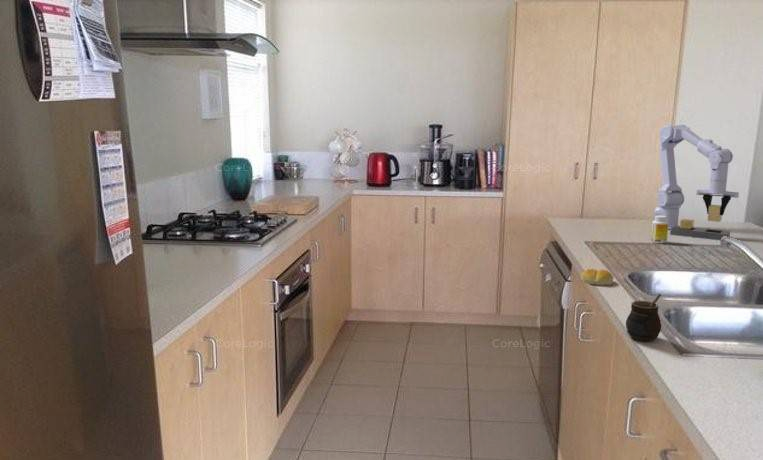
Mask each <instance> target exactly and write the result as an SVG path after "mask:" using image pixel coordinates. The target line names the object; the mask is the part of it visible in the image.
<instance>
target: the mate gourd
mask: <svg viewBox="0 0 763 460" xmlns="http://www.w3.org/2000/svg"><path fill="white" fill-rule="evenodd" d="M661 296H662V294H661V293H658V295H657V296H656V297H655V298H654V300H653V301H647V300H636V301H635V300H634V301H632V302H631V306H630V308H631V309H630V313H629V315H627V318H626V321H625V327H626V333H628V335H629V337H631V338H632V339H633V340H635V341H640V342H652V341H653V340H656V339H657V338H658V337H659V335H660V333H661V331H662V322H661V319H660V315H659V305H658V304H657V301H658V300H659V299H660V297H661Z"/></svg>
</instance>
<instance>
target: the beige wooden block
mask: <svg viewBox="0 0 763 460" xmlns="http://www.w3.org/2000/svg"><path fill="white" fill-rule="evenodd" d="M679 223H680V224H679V226H680V229H685V230H693V227H695V226H694V223H695V220H694V219H687V218H682V219H681V220H680V222H679Z"/></svg>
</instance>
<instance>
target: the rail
mask: <svg viewBox="0 0 763 460" xmlns="http://www.w3.org/2000/svg"><path fill="white" fill-rule="evenodd" d="M669 235H671V236H682V237H689V238H699V239H706V240H707V239H708V240H717V241H722V240H721V238H722V237H723V236H727V237H729V238H730V237H731V236H730V235H731V230H723V229H722V230H721V229H711V228H702V227H695V226H693V230H685V229H680V225H678V226H675V227H673V228H671V229H670V233H669Z"/></svg>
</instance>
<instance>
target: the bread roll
mask: <svg viewBox="0 0 763 460" xmlns="http://www.w3.org/2000/svg"><path fill="white" fill-rule="evenodd" d="M580 277H581V281H582V282H583V283H585V284H588V285H593V286H594V285H597V286H610V285H611V284H613V281H614V276H613V274H612V273H611V272H610V271H608V270H607V269H600V270H597V269H594V268H589V269H585V270H584V271H582V273H581V275H580Z"/></svg>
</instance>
